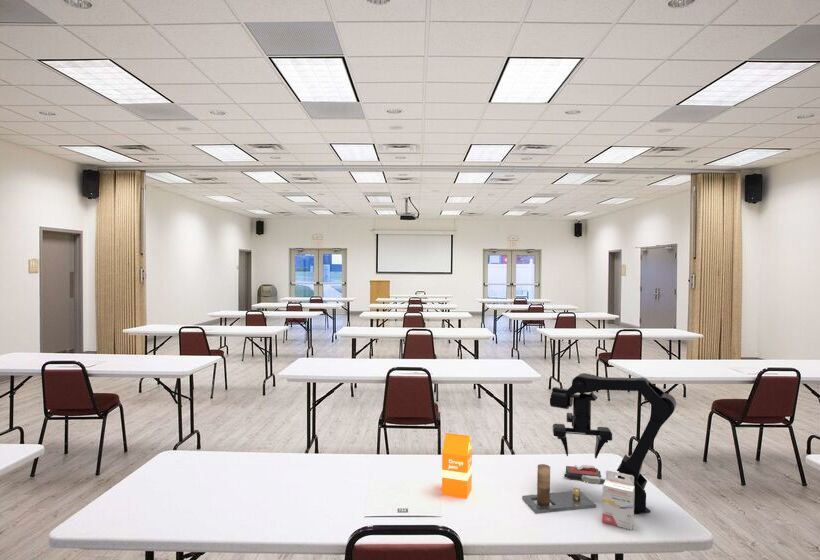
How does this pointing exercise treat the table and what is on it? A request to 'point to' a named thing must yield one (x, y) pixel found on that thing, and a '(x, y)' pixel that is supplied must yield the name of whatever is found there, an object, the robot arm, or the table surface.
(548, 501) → the peg
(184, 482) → the table surface
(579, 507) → the plate
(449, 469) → the orange juice
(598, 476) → the red gray flat block
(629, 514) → the ink cartridge box
